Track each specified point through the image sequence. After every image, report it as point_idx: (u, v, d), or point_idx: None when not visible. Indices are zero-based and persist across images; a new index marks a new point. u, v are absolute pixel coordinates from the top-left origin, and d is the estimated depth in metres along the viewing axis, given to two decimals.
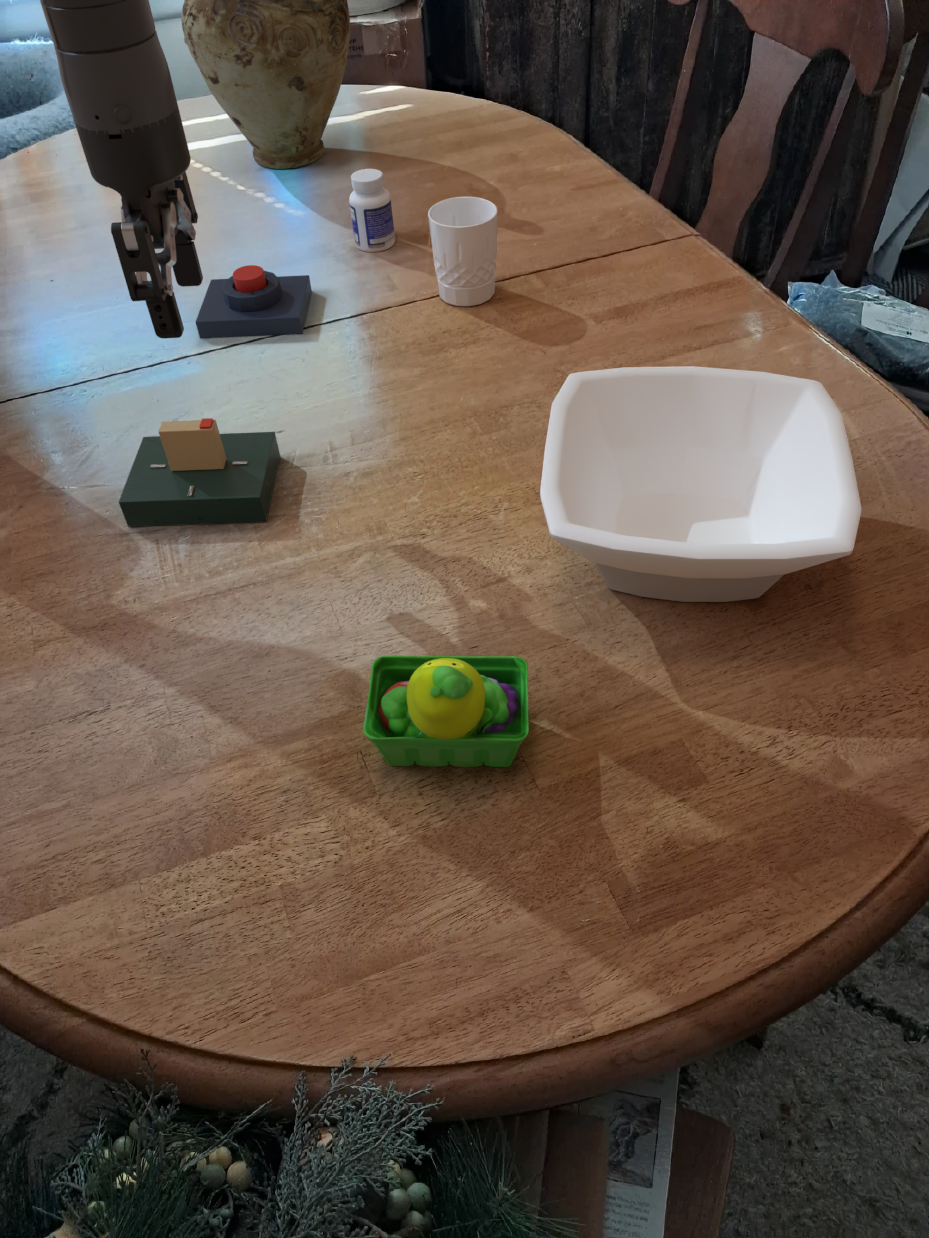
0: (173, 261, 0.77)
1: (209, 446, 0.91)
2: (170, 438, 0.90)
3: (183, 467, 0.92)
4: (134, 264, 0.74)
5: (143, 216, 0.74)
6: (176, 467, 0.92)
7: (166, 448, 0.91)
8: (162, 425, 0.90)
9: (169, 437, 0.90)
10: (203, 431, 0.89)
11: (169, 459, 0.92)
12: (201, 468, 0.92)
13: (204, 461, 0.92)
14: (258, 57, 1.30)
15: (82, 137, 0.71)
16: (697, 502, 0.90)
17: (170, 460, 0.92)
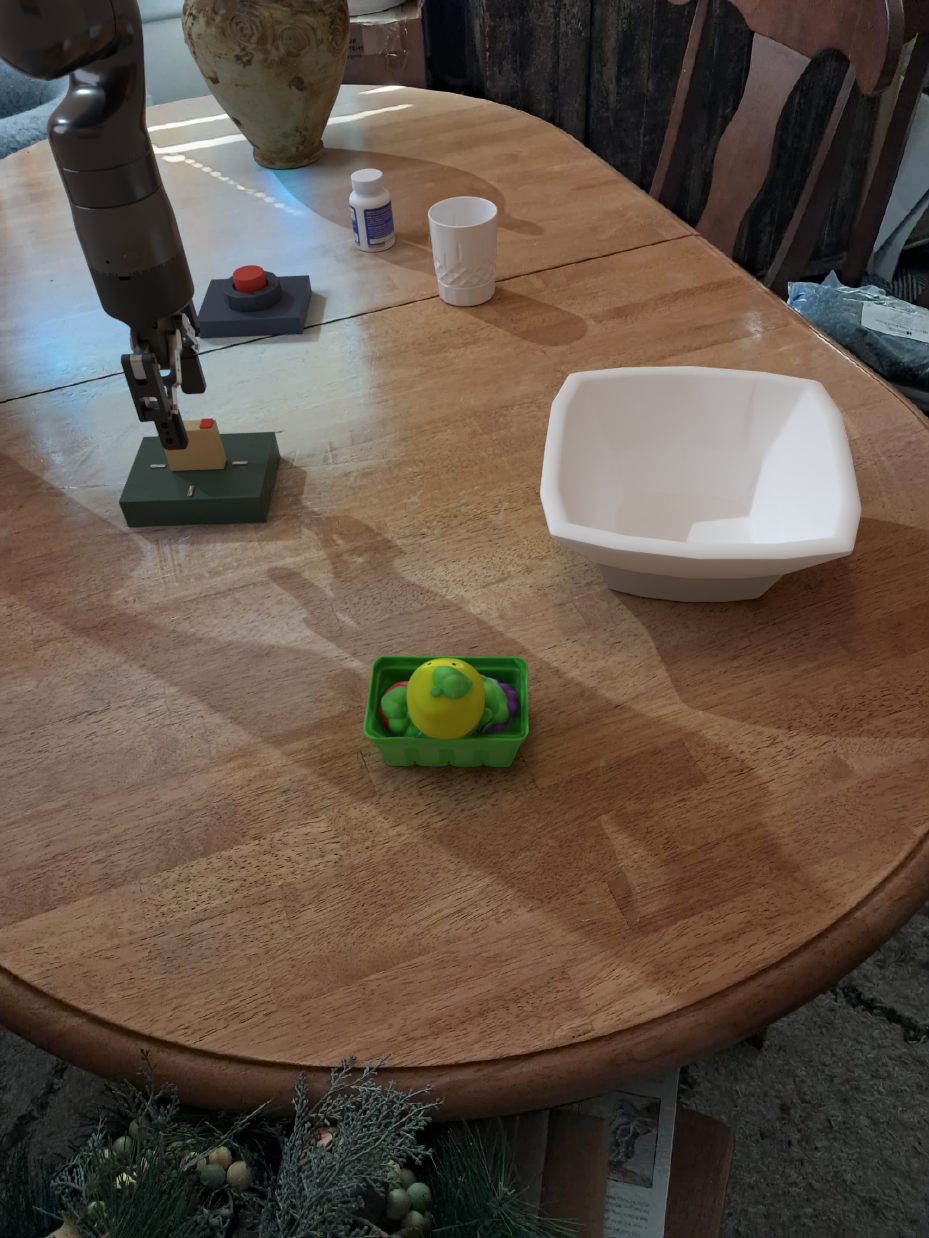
0: (178, 383, 0.83)
1: (209, 446, 0.91)
2: None
3: (183, 467, 0.92)
4: (142, 391, 0.79)
5: (150, 346, 0.79)
6: (176, 467, 0.92)
7: None
8: None
9: None
10: (203, 431, 0.89)
11: (169, 459, 0.92)
12: (201, 468, 0.92)
13: (204, 461, 0.92)
14: (258, 57, 1.30)
15: (94, 276, 0.77)
16: (697, 502, 0.90)
17: (170, 460, 0.92)
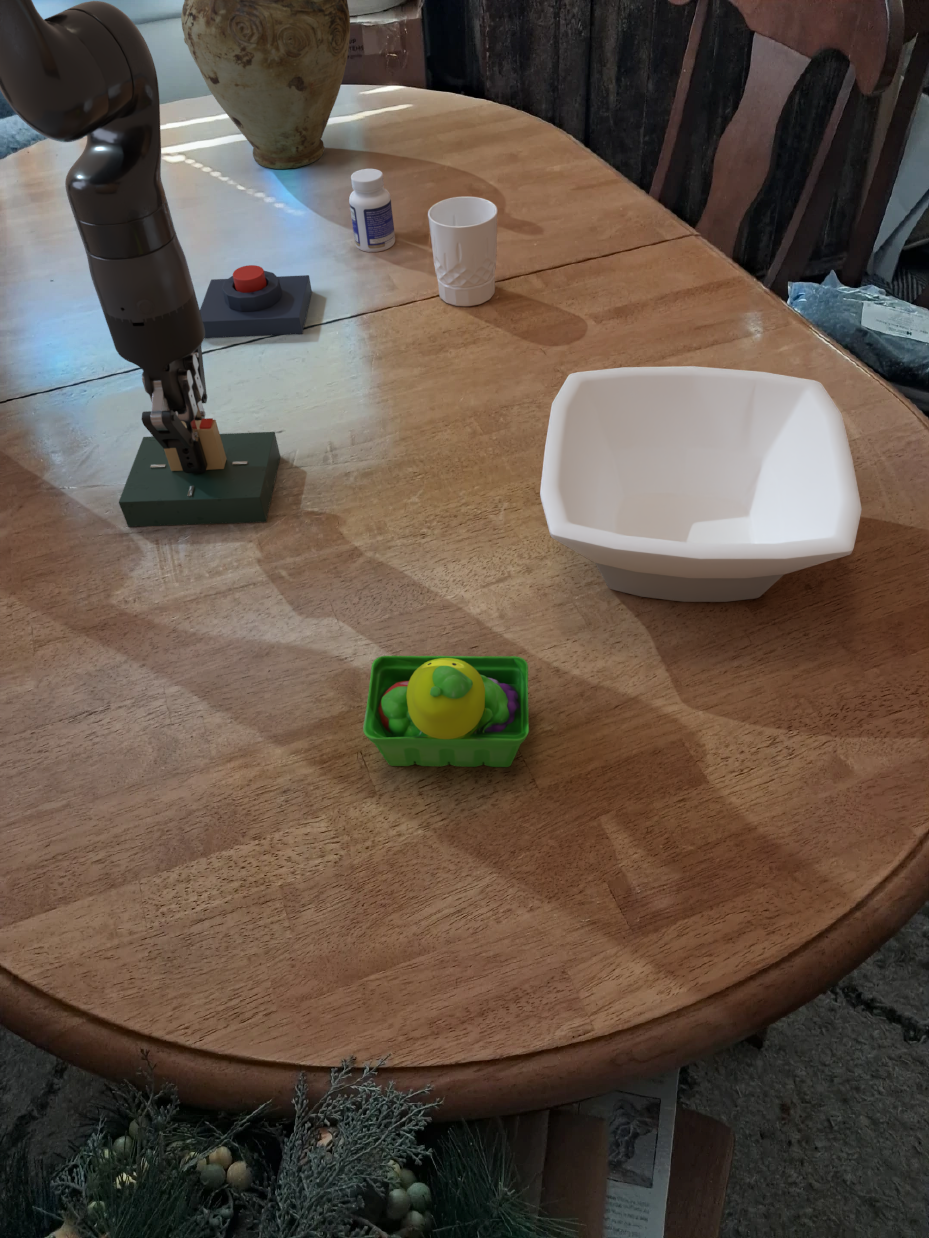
0: (195, 415, 0.87)
1: (209, 446, 0.91)
2: None
3: None
4: (165, 436, 0.84)
5: (162, 387, 0.82)
6: (176, 467, 0.92)
7: None
8: None
9: None
10: (203, 431, 0.89)
11: (169, 459, 0.92)
12: None
13: None
14: (258, 57, 1.30)
15: (108, 321, 0.80)
16: (697, 502, 0.90)
17: (170, 460, 0.92)
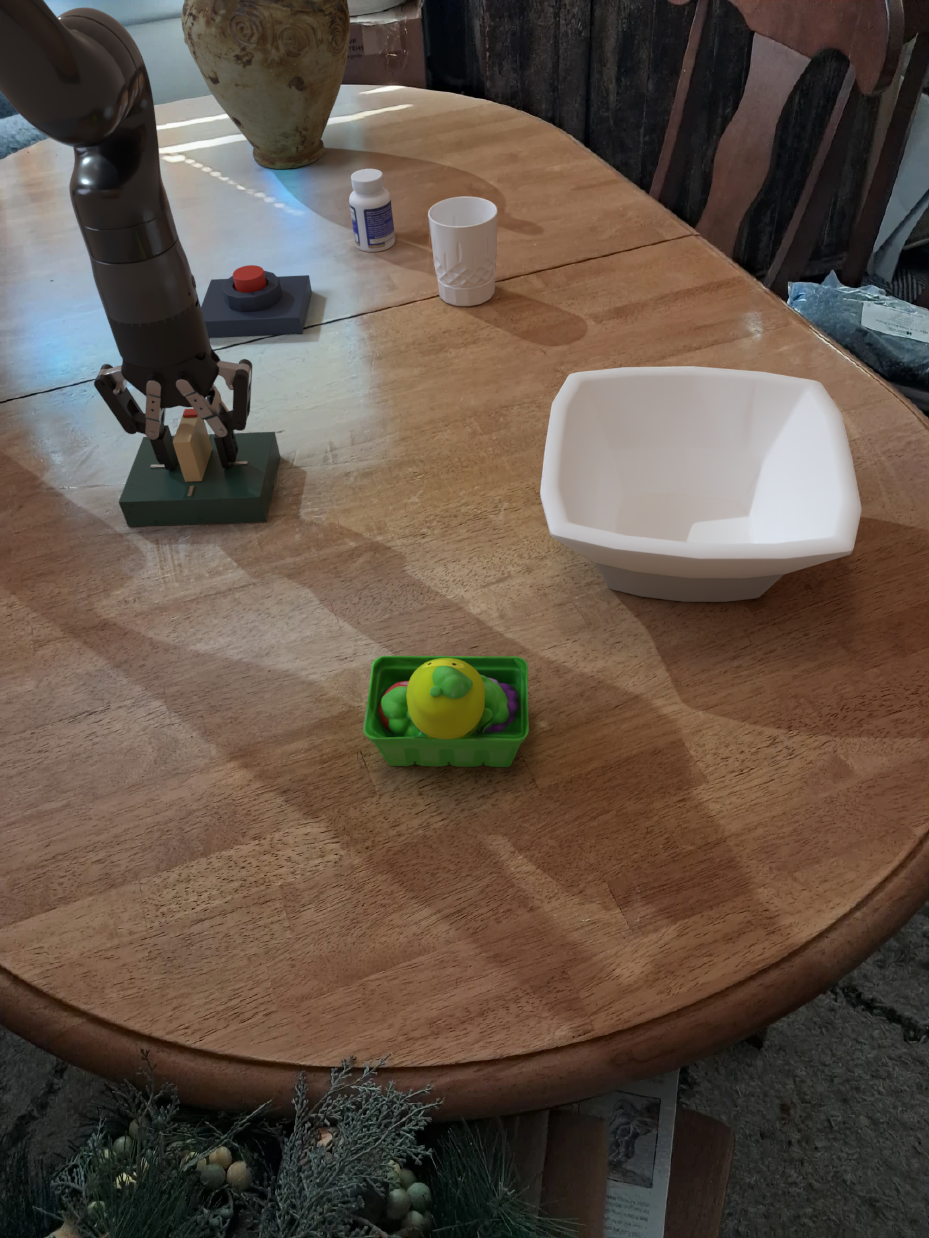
0: None
1: (204, 430, 0.92)
2: (194, 442, 0.89)
3: (204, 469, 0.92)
4: (248, 396, 0.87)
5: (219, 359, 0.86)
6: (202, 473, 0.91)
7: (195, 456, 0.90)
8: (180, 440, 0.88)
9: (193, 442, 0.89)
10: None
11: (199, 468, 0.90)
12: (207, 460, 0.93)
13: (206, 450, 0.93)
14: (258, 57, 1.30)
15: (174, 326, 0.80)
16: (697, 502, 0.90)
17: (199, 468, 0.91)
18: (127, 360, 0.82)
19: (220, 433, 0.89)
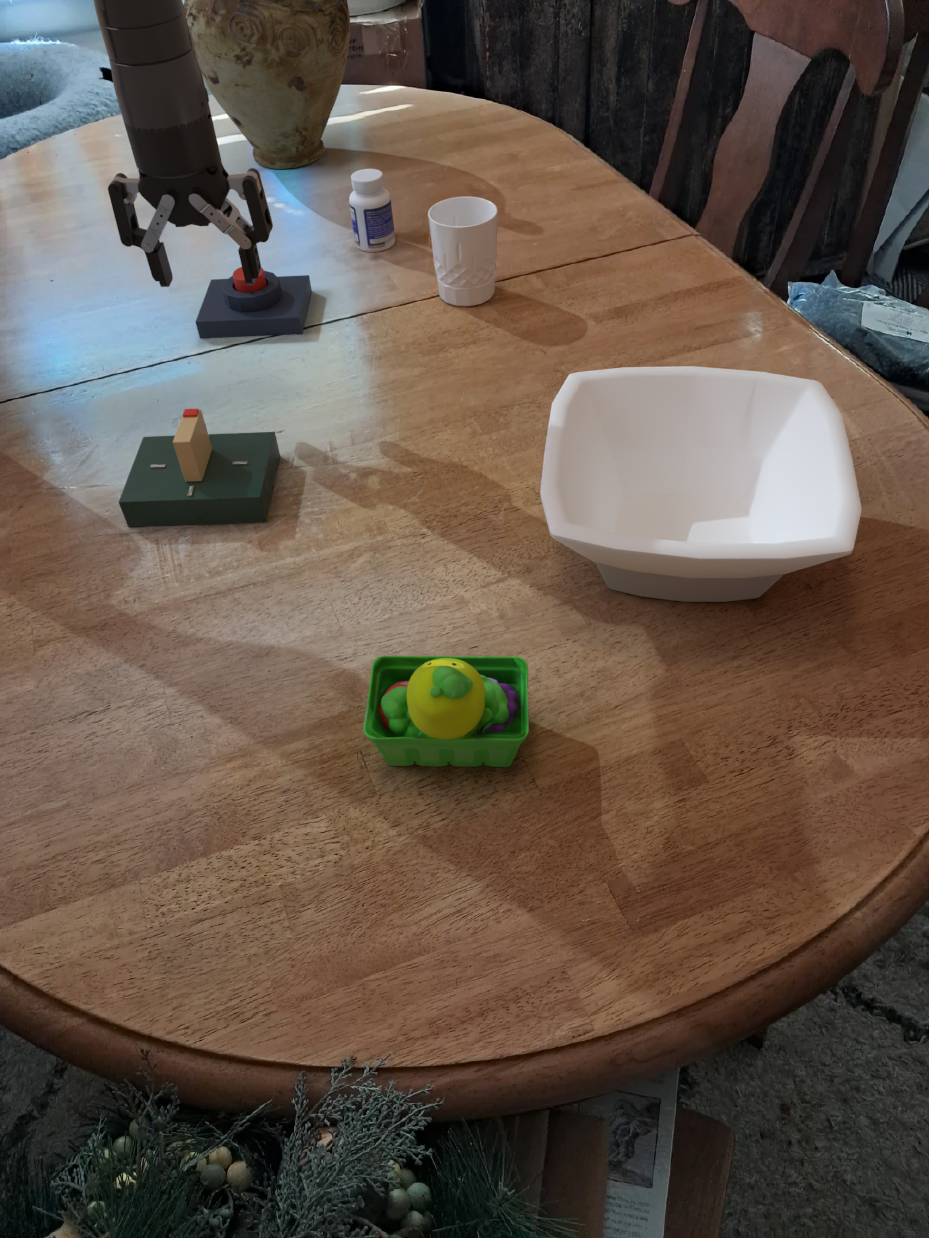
0: None
1: (204, 430, 0.92)
2: (194, 442, 0.89)
3: (204, 469, 0.92)
4: (263, 205, 0.92)
5: None
6: (202, 473, 0.91)
7: (195, 456, 0.90)
8: (180, 440, 0.88)
9: (193, 442, 0.89)
10: (199, 416, 0.91)
11: (199, 468, 0.90)
12: (207, 460, 0.93)
13: (206, 450, 0.93)
14: (258, 57, 1.30)
15: (188, 133, 0.85)
16: (697, 502, 0.90)
17: (199, 468, 0.91)
18: (143, 170, 0.87)
19: (244, 244, 0.94)
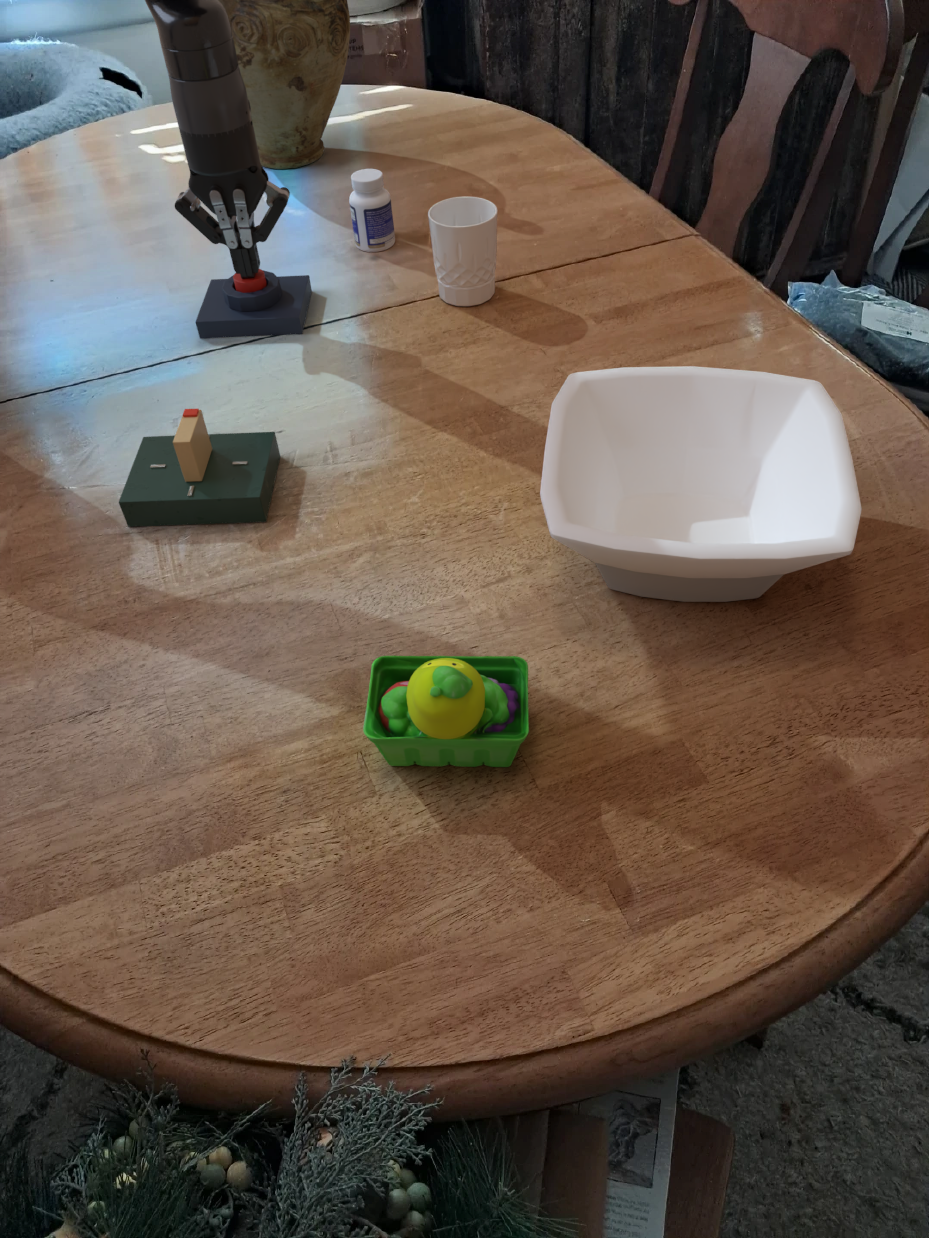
0: None
1: (204, 430, 0.92)
2: (194, 442, 0.89)
3: (204, 469, 0.92)
4: None
5: (267, 175, 1.07)
6: (202, 473, 0.91)
7: (195, 456, 0.90)
8: (180, 440, 0.88)
9: (193, 442, 0.89)
10: (199, 416, 0.91)
11: (199, 468, 0.90)
12: (207, 460, 0.93)
13: (206, 450, 0.93)
14: (258, 57, 1.30)
15: (235, 138, 1.01)
16: (697, 502, 0.90)
17: (199, 468, 0.91)
18: (196, 169, 1.03)
19: (246, 244, 1.10)
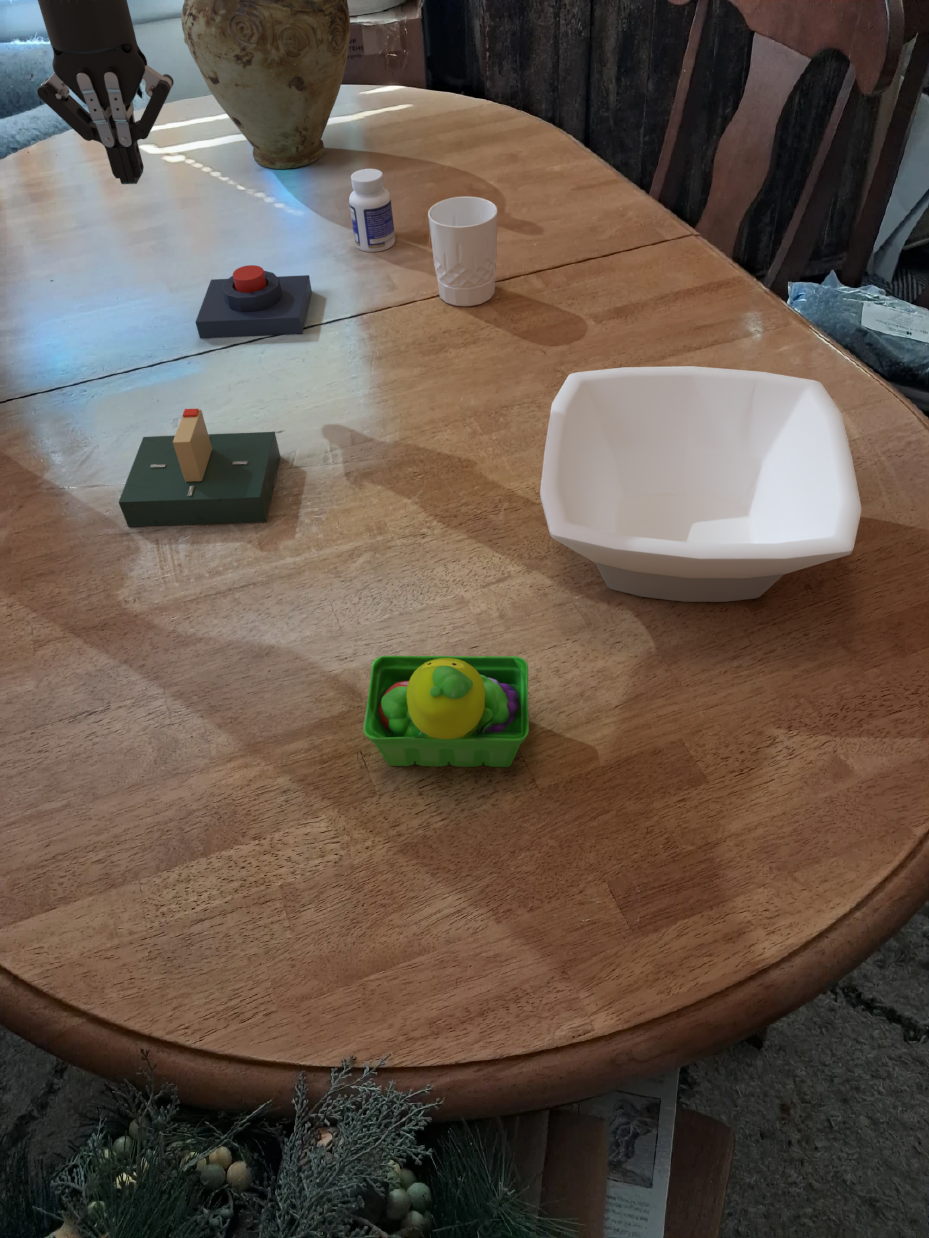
0: None
1: (204, 430, 0.92)
2: (194, 442, 0.89)
3: (204, 469, 0.92)
4: (160, 110, 0.95)
5: (145, 58, 0.92)
6: (202, 473, 0.91)
7: (195, 456, 0.90)
8: (180, 440, 0.88)
9: (193, 442, 0.89)
10: (199, 416, 0.91)
11: (199, 468, 0.90)
12: (207, 460, 0.93)
13: (206, 450, 0.93)
14: (258, 57, 1.30)
15: (101, 6, 0.86)
16: (697, 502, 0.90)
17: (199, 468, 0.91)
18: (57, 45, 0.88)
19: (124, 141, 0.96)
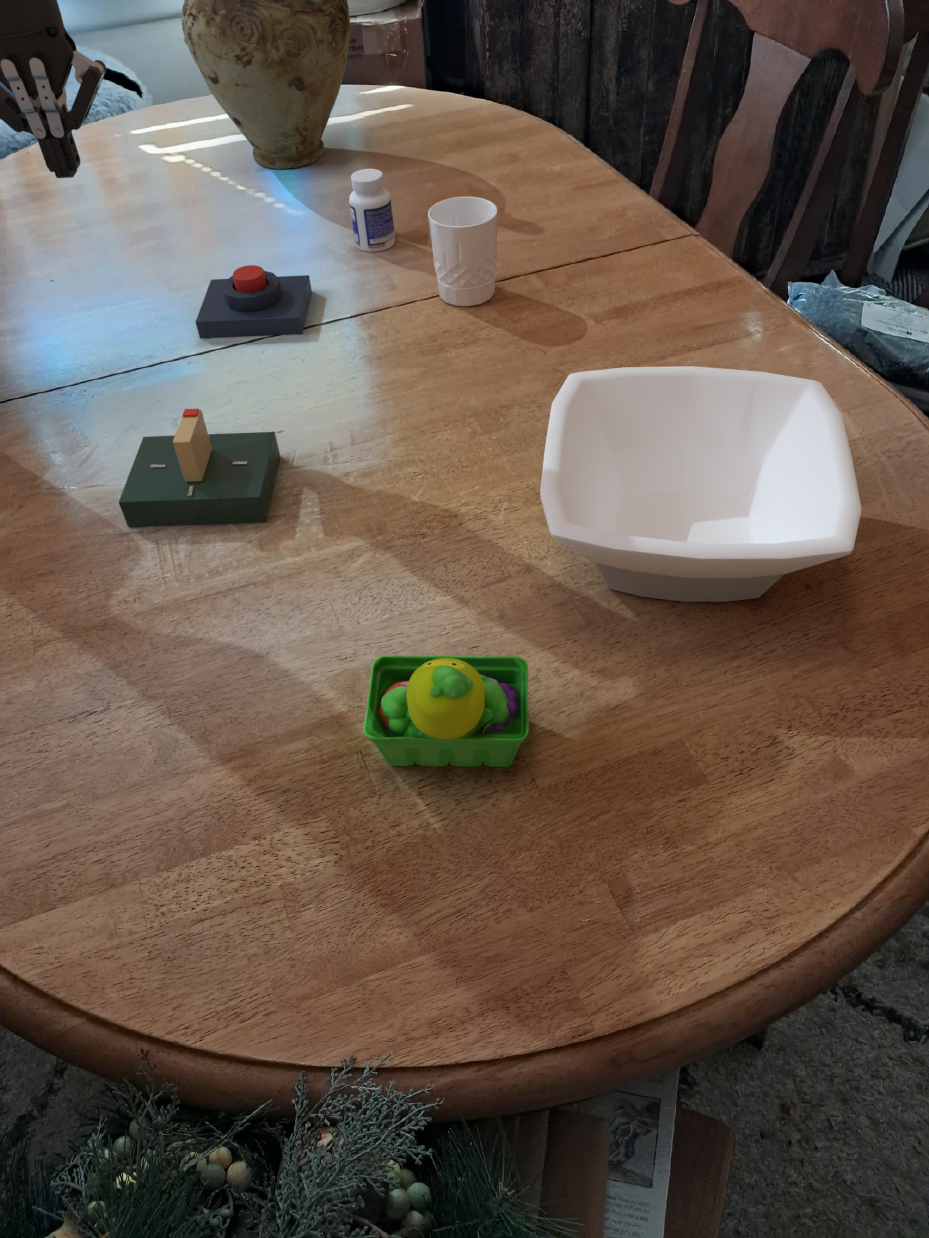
0: None
1: (204, 430, 0.92)
2: (194, 442, 0.89)
3: (204, 469, 0.92)
4: (92, 99, 0.89)
5: (73, 42, 0.87)
6: (202, 473, 0.91)
7: (195, 456, 0.90)
8: (180, 440, 0.88)
9: (193, 442, 0.89)
10: (199, 416, 0.91)
11: (199, 468, 0.90)
12: (207, 460, 0.93)
13: (206, 450, 0.93)
14: (258, 57, 1.30)
15: None
16: (697, 502, 0.90)
17: (199, 468, 0.91)
18: None
19: (56, 132, 0.90)
